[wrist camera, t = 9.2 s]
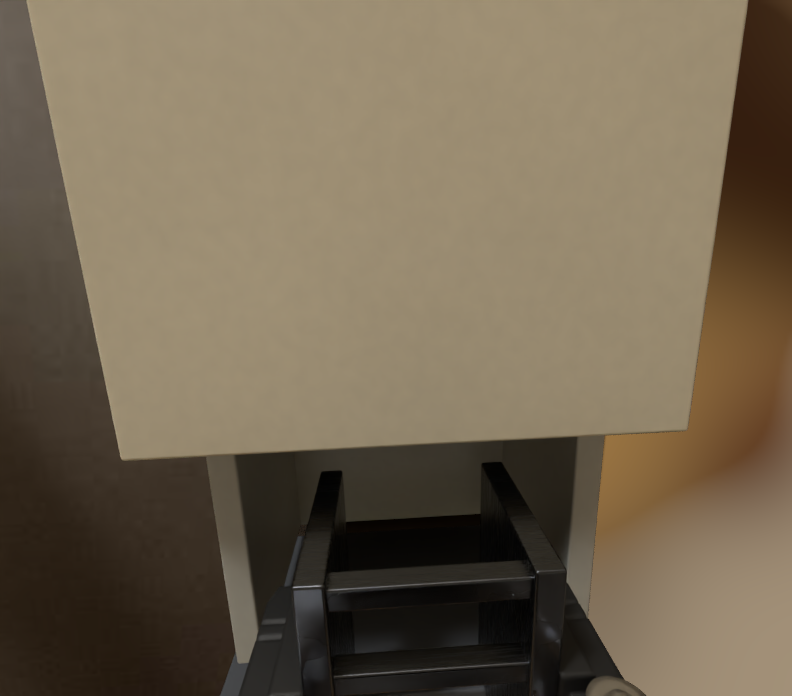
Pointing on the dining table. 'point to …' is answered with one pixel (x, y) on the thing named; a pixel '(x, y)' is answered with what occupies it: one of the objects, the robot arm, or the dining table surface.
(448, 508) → the two-tone hollow box
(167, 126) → the cream drawer box
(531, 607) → the rack
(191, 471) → the dining table surface
